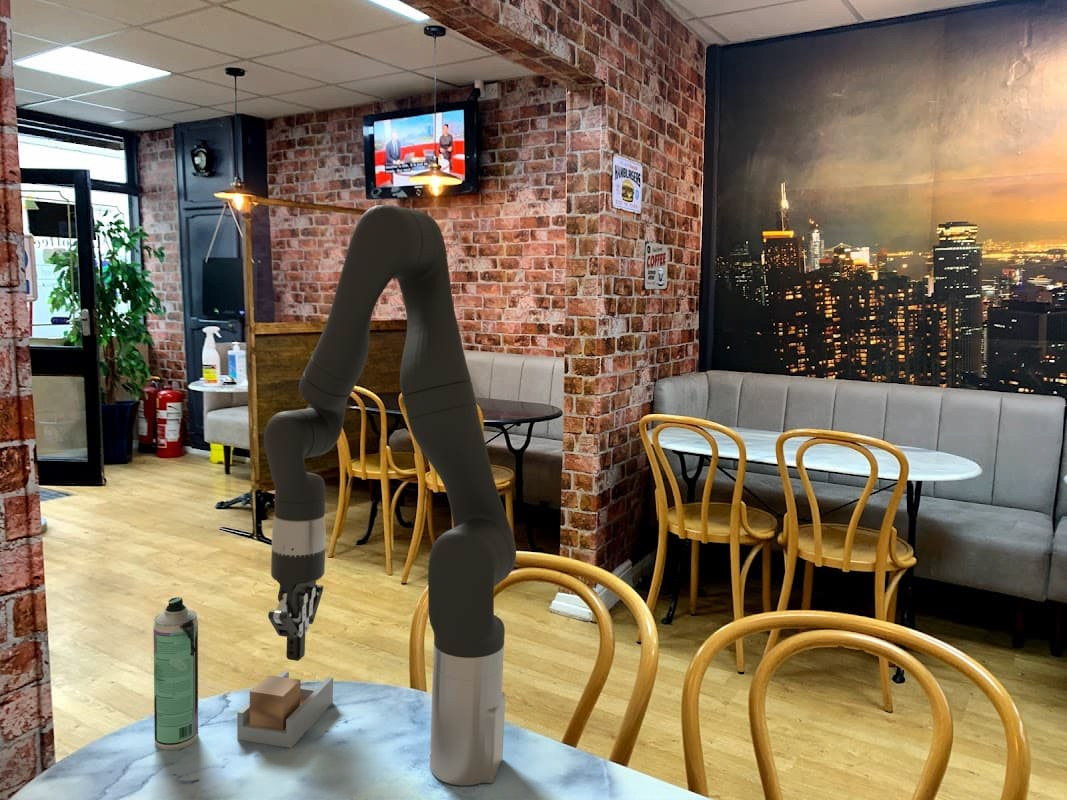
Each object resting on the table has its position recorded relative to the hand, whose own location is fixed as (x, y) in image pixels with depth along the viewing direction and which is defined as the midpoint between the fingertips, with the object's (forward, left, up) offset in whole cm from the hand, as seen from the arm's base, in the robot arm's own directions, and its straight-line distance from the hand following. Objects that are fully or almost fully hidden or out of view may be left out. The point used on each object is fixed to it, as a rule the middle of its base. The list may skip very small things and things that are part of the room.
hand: (295, 657), depth 116 cm
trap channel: (0, +4, -8) cm, 9 cm away
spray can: (+12, +12, -8) cm, 18 cm away
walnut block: (0, +7, -6) cm, 9 cm away
